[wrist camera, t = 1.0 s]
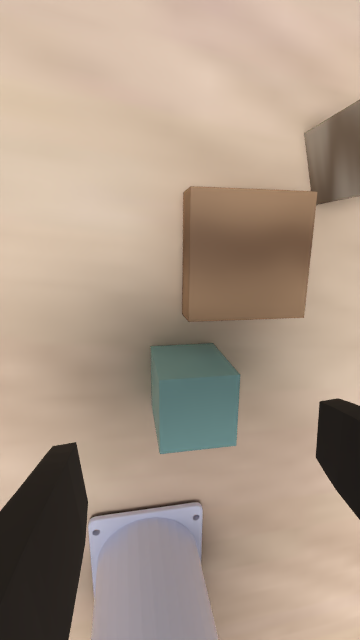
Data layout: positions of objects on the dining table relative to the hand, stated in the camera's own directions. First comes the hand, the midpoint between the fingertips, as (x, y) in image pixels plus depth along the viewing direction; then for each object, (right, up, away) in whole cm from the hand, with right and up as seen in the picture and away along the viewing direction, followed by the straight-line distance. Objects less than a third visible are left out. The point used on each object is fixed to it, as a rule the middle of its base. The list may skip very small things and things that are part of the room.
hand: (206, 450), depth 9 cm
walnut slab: (+3, +8, +10) cm, 13 cm away
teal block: (-1, 0, +11) cm, 11 cm away
